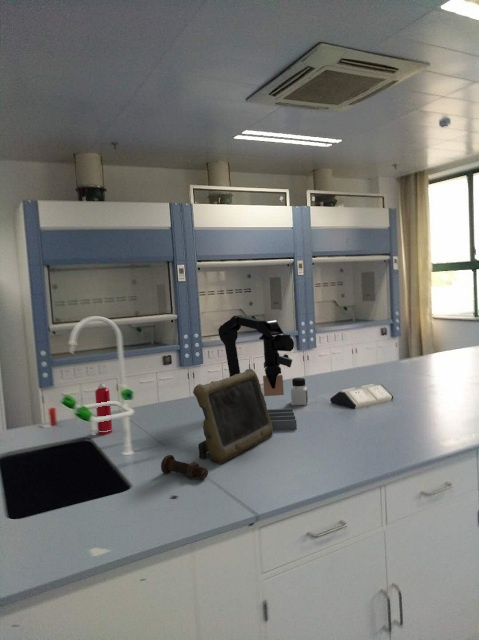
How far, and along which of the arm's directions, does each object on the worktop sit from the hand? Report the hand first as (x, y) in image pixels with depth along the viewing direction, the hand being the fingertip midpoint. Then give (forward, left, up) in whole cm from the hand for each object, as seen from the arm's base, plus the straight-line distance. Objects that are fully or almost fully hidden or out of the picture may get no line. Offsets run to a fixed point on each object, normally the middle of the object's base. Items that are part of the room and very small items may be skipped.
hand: (273, 387), depth 186 cm
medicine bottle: (+13, +24, -14) cm, 31 cm away
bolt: (-29, -54, -14) cm, 63 cm away
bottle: (-69, -8, -14) cm, 71 cm away
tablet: (-15, -31, -14) cm, 37 cm away
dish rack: (+1, -6, -14) cm, 15 cm away
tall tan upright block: (0, 0, -3) cm, 3 cm away
